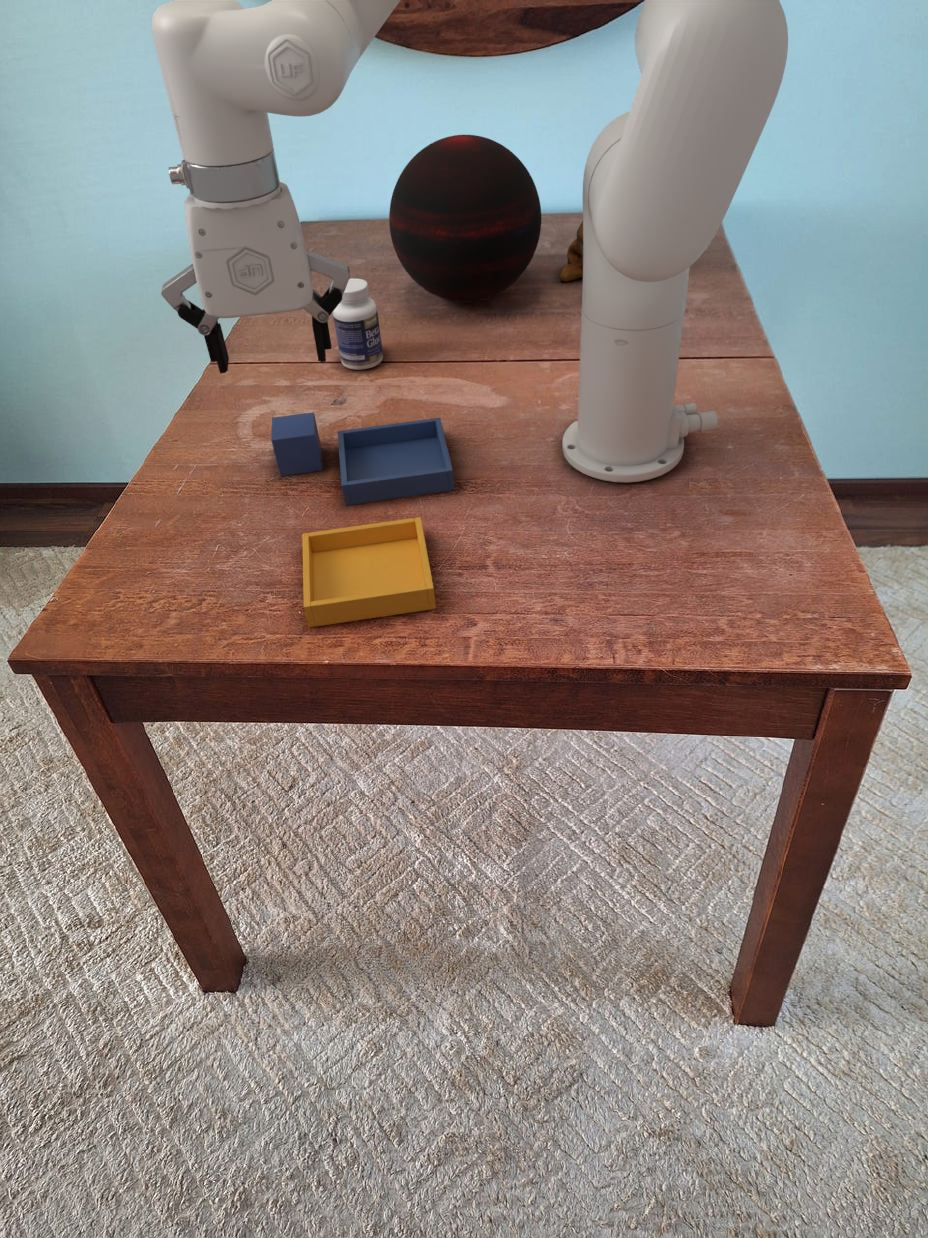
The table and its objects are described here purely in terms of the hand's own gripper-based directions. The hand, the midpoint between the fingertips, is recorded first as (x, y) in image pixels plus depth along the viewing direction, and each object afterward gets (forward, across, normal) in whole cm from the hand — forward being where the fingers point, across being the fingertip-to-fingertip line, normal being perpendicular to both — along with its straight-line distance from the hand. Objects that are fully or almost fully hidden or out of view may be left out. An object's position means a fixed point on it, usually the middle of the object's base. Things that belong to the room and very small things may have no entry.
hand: (273, 361), depth 86 cm
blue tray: (+12, +11, -4) cm, 16 cm away
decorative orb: (+12, +25, +36) cm, 45 cm away
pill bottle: (+12, +9, +21) cm, 26 cm away
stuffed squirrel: (+11, +45, +40) cm, 61 cm away
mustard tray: (+12, +7, -21) cm, 25 cm away
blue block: (+12, +1, 0) cm, 12 cm away
